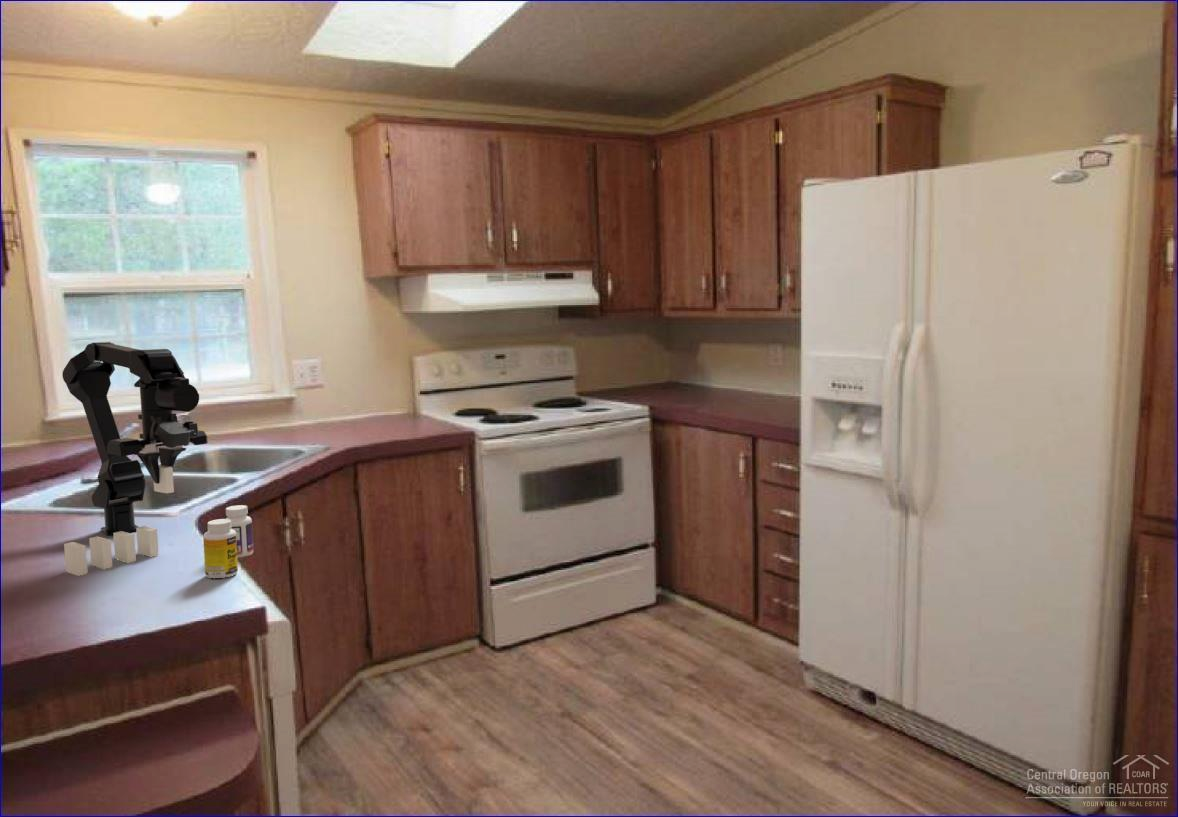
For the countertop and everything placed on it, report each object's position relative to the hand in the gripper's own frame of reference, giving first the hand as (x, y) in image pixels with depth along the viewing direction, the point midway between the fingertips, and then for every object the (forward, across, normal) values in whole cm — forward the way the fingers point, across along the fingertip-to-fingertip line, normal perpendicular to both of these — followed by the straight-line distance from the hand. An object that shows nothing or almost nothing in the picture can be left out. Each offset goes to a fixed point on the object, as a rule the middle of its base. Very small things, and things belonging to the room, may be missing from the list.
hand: (161, 482), depth 171 cm
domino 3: (+13, -12, -6) cm, 19 cm away
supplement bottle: (+13, -7, -31) cm, 34 cm away
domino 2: (+13, -16, -6) cm, 22 cm away
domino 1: (+13, -21, -6) cm, 25 cm away
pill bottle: (+13, +2, -22) cm, 26 cm away
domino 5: (+2, 0, -1) cm, 2 cm away
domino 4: (+13, -7, -6) cm, 16 cm away
